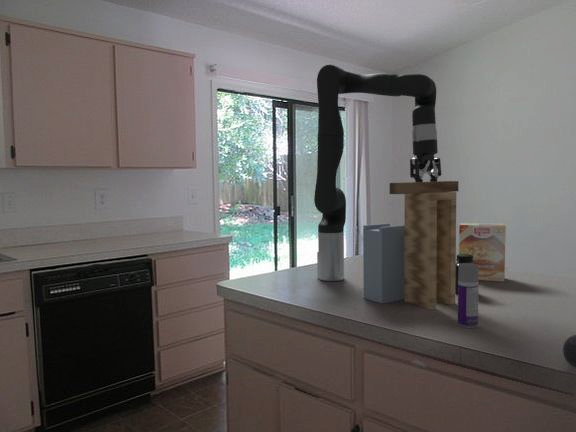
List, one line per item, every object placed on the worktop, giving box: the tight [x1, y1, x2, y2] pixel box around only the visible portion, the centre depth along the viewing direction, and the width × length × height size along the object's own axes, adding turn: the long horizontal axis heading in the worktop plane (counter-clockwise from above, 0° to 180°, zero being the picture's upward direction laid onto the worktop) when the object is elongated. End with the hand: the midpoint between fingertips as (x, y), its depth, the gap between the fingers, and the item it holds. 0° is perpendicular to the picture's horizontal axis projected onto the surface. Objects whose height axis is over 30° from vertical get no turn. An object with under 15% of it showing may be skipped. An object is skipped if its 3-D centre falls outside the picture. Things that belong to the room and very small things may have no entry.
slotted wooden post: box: [403, 191, 457, 310], centre depth 131 cm, size 10×10×32 cm
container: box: [457, 263, 480, 329], centre depth 111 cm, size 5×5×15 cm
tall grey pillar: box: [362, 222, 405, 305], centre depth 137 cm, size 8×10×22 cm
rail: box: [389, 180, 460, 195], centre depth 128 cm, size 4×24×3 cm, turn 121°
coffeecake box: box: [458, 222, 507, 282], centre depth 161 cm, size 15×7×20 cm, turn 68°
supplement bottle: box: [455, 253, 473, 295], centre depth 141 cm, size 7×7×12 cm
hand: (426, 190), depth 145 cm, fingers open, 8 cm apart
